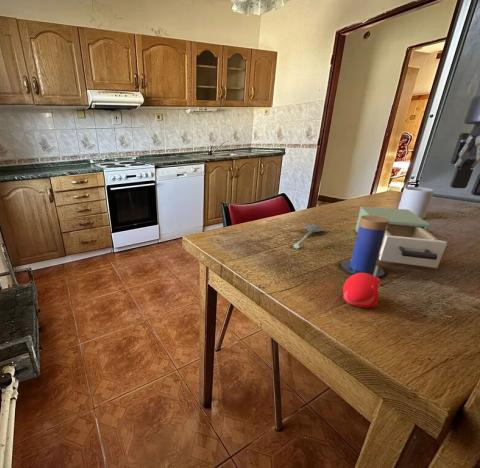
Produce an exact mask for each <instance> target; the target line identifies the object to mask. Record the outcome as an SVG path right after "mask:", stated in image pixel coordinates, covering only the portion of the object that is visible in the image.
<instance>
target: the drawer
mask: <svg viewBox="0 0 480 468" xmlns="http://www.w3.org/2000/svg"><path fill="white" fill-rule="evenodd" d="M447 245H448V242H447V241H446V240H440V239H438V238H437V237H435V235H433V234H432V233H430V232H429V231H428V232H427V231H426V230H425V229H423V228H422V227H420V226H408V225H396V224H388V228H387V229H386V232H385V236H384V239H383V242H382V246H381V249H380V253H379V256H378V260H379V261H380V262H388V263H395V264H396V263H397V264H404V265H411V266H419V267H427V268H432V269H433V268H435V269H438V267H439V265H440V263H441V260H442V257H443V255H444V251H445V250H446V247H447Z"/></svg>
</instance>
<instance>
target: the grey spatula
mask: <svg viewBox="0 0 480 468" xmlns="http://www.w3.org/2000/svg"><path fill="white" fill-rule="evenodd" d="M304 228H305V229H306V230H307V232H306V234H304V236H303V237H302V238H301V239H300V240H298V242H297V243H293V248H294V249H300V248H301V247H300V246H301V244H303V242H304V241H305V240H306V239H307V238H308V237H309V236H310V235H311V234H312V233H319V232H325V231H326V229H325V228H324V227H323V226H321V225H317V224H306V225H305V226H304Z"/></svg>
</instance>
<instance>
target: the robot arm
mask: <svg viewBox="0 0 480 468" xmlns="http://www.w3.org/2000/svg"><path fill="white" fill-rule="evenodd" d="M463 123H464V125H474V126H473V127H472V129H471V131H470V132H461V133H459V135H458V138H457V141H456V145H455V147H454V151H453V154H452V156H451V160H450V164H451V165H454V168H455V171H454V174H453V176H452V179H451V181H450V185H449V186H450V188H453V189H466V188H467V187H468V185H469V182H470V180H471V177H472V175H473V172H474V168H475V167H476V165H477V164H478V163H479V164H480V78H479V79H478V81H477V84H476V87H475V90H474V91H473V95H472V98H471V101H470V103H469V107H468V109H467V111H466V115H465V117H464V121H463ZM470 194H471V195H473V196H474V197H475V196H476V197H480V173H478V174H477V176H476V179H475V181H474V184H473V187H472V189H471V191H470Z"/></svg>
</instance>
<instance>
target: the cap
mask: <svg viewBox="0 0 480 468" xmlns="http://www.w3.org/2000/svg"><path fill="white" fill-rule="evenodd" d="M381 282H382V280H381V279H380V278H378V277H375V276H372V275H370V274H367V273H357V274H351V275H350V276H349V277H348V278H347V279H346V280H345V282H344V284H343V288H342V291H343V296H342V297H343V299H344V301H345V302H346V303H347V304H349V305H352V306H354V307H359V308H372V307H377V306H378V305H379V302H378V300H379V298H380V296H379V295H380V294H379V291H378V289H379V284H381Z"/></svg>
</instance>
